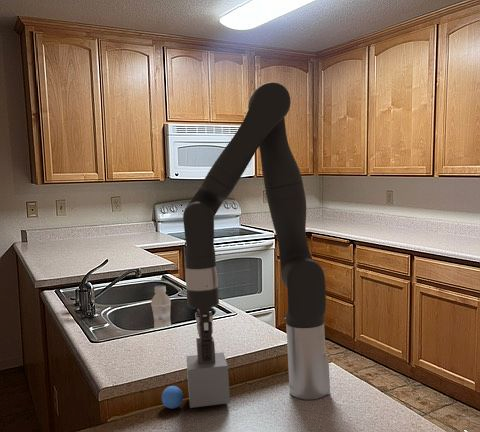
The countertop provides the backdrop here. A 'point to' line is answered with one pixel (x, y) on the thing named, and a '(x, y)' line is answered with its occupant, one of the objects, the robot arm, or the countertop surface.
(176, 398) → the ball
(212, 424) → the countertop surface
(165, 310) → the plastic bottle
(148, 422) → the countertop surface
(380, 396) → the countertop surface
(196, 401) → the stepped gray cube pair
